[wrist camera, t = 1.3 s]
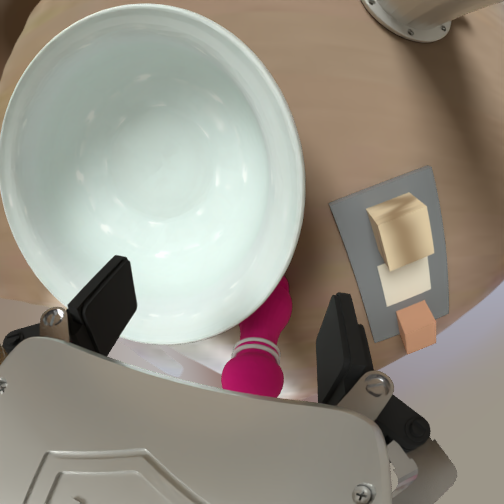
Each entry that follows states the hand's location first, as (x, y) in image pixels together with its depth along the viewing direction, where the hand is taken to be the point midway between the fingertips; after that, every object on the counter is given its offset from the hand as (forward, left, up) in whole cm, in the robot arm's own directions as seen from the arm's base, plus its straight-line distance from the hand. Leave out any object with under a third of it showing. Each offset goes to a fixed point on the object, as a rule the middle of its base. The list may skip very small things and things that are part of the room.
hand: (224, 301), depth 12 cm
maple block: (-13, +11, -21) cm, 27 cm away
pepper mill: (+6, +14, -22) cm, 27 cm away
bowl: (+10, -7, -22) cm, 26 cm away
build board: (-13, +18, -22) cm, 31 cm away
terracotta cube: (-13, +28, -21) cm, 37 cm away
